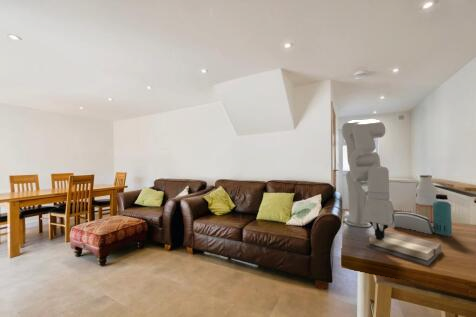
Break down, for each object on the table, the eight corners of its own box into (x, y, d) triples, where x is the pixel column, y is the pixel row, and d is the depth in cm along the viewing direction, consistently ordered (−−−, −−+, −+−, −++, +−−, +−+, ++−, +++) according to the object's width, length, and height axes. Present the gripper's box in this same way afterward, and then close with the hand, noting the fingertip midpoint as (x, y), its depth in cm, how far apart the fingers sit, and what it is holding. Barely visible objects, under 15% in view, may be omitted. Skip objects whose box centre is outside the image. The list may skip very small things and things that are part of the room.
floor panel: (366, 246, 88) (366, 239, 88) (384, 237, 98) (383, 230, 98) (427, 265, 72) (427, 256, 72) (441, 251, 82) (441, 243, 82)
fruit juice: (419, 226, 112) (417, 175, 112) (414, 221, 120) (412, 174, 120) (442, 229, 107) (440, 175, 108) (435, 223, 116) (433, 174, 116)
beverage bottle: (449, 234, 99) (447, 193, 100) (455, 239, 93) (454, 195, 94) (431, 232, 102) (429, 193, 103) (436, 237, 96) (435, 195, 97)
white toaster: (435, 232, 103) (432, 214, 101) (432, 237, 101) (429, 219, 99) (395, 224, 117) (392, 208, 116) (392, 228, 115) (389, 212, 113)
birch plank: (369, 243, 89) (369, 237, 89) (377, 239, 93) (377, 234, 93) (427, 260, 73) (427, 253, 73) (433, 255, 77) (433, 248, 77)
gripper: (355, 194, 91) (357, 235, 91) (396, 199, 79) (397, 247, 79) (363, 192, 95) (365, 231, 95) (403, 197, 83) (404, 242, 83)
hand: (379, 238), depth 87 cm, fingers closed
